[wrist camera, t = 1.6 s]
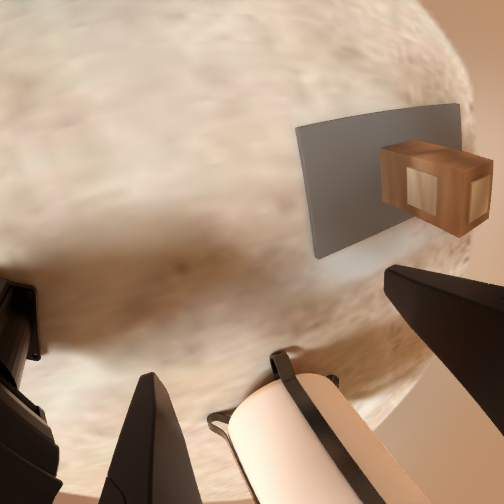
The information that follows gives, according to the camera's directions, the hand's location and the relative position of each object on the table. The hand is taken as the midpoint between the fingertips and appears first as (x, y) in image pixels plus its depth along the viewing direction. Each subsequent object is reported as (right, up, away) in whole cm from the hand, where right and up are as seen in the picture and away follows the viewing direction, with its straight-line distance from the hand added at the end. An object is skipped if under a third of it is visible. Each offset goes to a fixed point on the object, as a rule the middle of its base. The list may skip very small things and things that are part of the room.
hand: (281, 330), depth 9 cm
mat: (+12, +10, +15) cm, 21 cm away
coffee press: (+2, -14, +22) cm, 26 cm away
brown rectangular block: (+11, +9, +14) cm, 20 cm away
